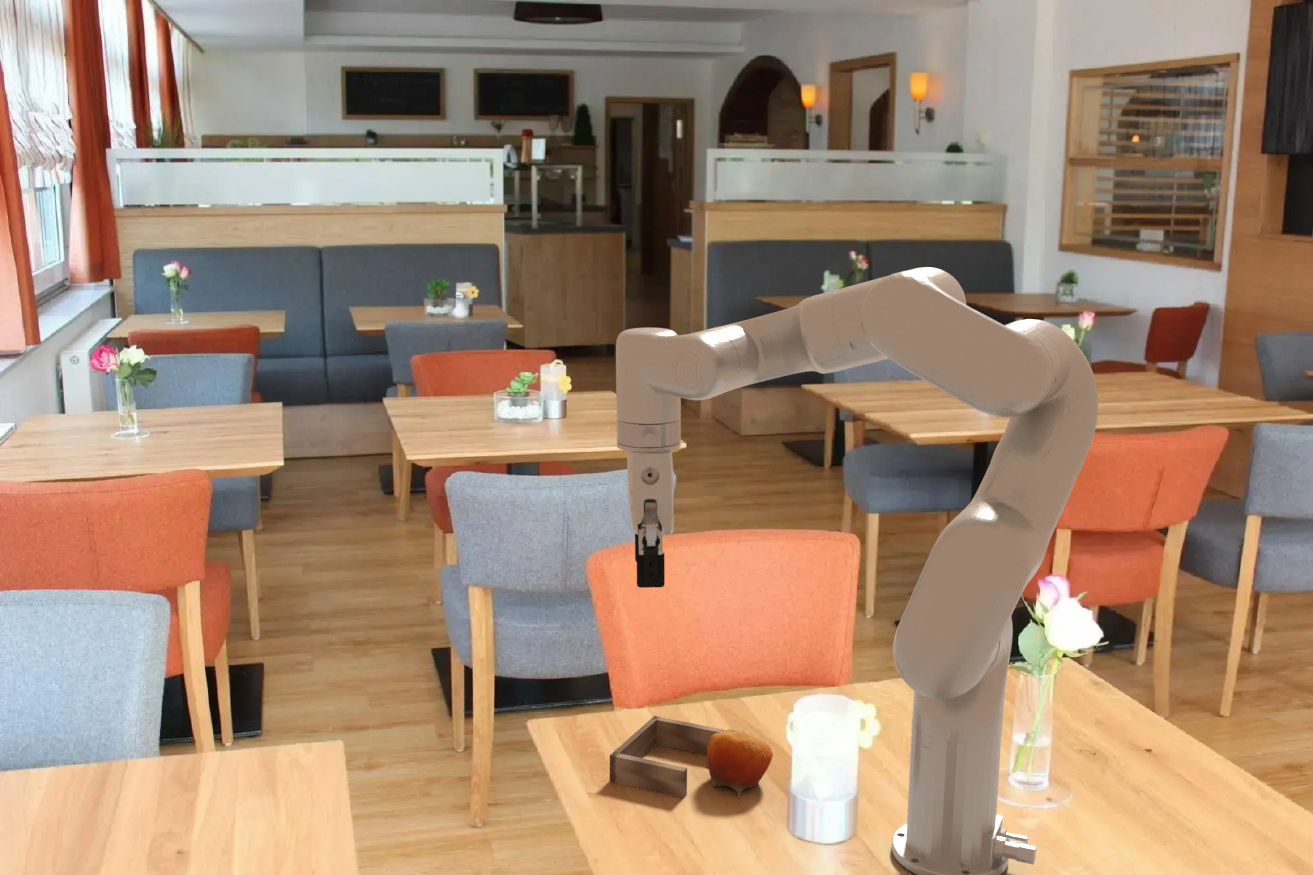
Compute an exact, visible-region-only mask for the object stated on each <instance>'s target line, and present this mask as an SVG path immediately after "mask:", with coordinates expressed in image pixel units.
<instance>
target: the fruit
mask: <svg viewBox="0 0 1313 875" xmlns="http://www.w3.org/2000/svg"><path fill="white" fill-rule="evenodd" d="M772 751H773V750H772V748H771V746H770V745H769V744H768V743H767V742H766V741H764V739H762V738H761V737H759V736H755V735H753V734H749V733H746V732H745V731H740V730H738V729H724V731H723V732H720V733H715V734H713V735H712V736H711V738H710V741H709V743H708V748H707V755H706V759H707V760H706V761H707V769H708V771H709V774H710V775H709V776H710V779H711V782H712V785H713V788H715V787H717V786H718V787H719V786H726V787H730V788H731V789H733V790H734V791H736V792H737V793H738V798H740V799H741V798H742V797H741V796H742V795H741V794H742V791H744V790H747V789H750V788H754V787H755V786H756V785H758V783H759V782H760V781H761V779H762V778H763V777H764V775H765V773H766V772H767V771H768V768H769V766H770V765H771V762H772V759H773V757H774V756H773V755H774V754H773V752H772Z"/></svg>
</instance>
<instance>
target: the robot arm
mask: <svg viewBox="0 0 1313 875" xmlns="http://www.w3.org/2000/svg"><path fill="white" fill-rule="evenodd" d="M885 360H890V361H892V362H893V363H894V364H896V365H898V367H899V366H900V367H901V368H902V369H904V370H906V371H908V372H909V373H911V374H913V375H914V376H916V377H918V378H919V379H921V380H923V381H924V382H927V383H928V384H930V385H932V386H933V387H935V388H937V389H939V390H941V391H942V392H944V393H945V394H947V395H949V396H951V397H953V398H954V399H956V400H958V401H960V402H961V403H963V404H965V405H967V406H969V407H970V408H972V409H974V410H976V411H978V412H981V413H983V414H986V415H988V416H989V415H990V416H993V417H997V418H1009V420H1008V423H1007V424H1006V428H1005V430H1004V432H1003V434H1002V435H1001V437H1000V440H999V441H998V444H997V445H996V447H995V449H994V452H993V454H992V456H991V460H990V463H989V465H988V467H987V469H986V472H985V474H984V476H983V479H982V481H981V482H980V483H979V486H978V489H977V490H976V492H975V494H974V496H973V498H972V499H971V501H970V503H968V504H967V506H965V508H964V509H962V510H961V512H959V513H958V515H956V516H955V517H954V518H953V519H952V520H951V521H950V522H949V523H948V524H947V525H946V526H945V528H943V530H942V531H941V533H940V535H939V536H938V538H937V539H936V541H935V543H934V544H933V546H932V548H931V549H930V550H931V551H930V552H929V555H928V557H927V560H926V561H925V564H924V566H923V569H922V570H921V573H920V575H919V577H918V579H917V583H916V584H915V587H914V589H913V591H912V594H911V596H910V598H909V600H908V603H907V604H906V608H904V609H905V610H904V611H903V614H902V616H901V618H900V621H899V623H898V626H897V627H896V631H895V635H894V639H893V643H892V644H893V645H892V648H893V650H892V651H893V652H892V653H893V659H894V663H895V666H896V669H897V671H898V673H899V676H900V677H901V679H902V680H903V681H904V683H905V684H906V685H907V686H908V687H909V688H910V689H912V690H913V700H912V702H913V703H912V718H911V732H910V734H911V735H910V753H909V754H910V755H909V774H908V777H909V778H908V795H907V818H906V819H907V820H906V823H905V824H903V825H902V826H900V827H899V828H898V829H897V830H896V831H895V832H894V834H893V836H892V839H891V852H892V854H893V856H894V858H895V860H896V861H897V862H898V863H899V864H900V865H901V866H903V867H904V868H905V869H906V870H908V871H909V872H911V873H913V874H915V875H1002V874H1003V873H1004V872H1005V870H1006V869H1007V867H1008V864H1009V860H1014V861H1016V862H1018V863H1024V864H1029V865H1034V864H1035V861H1036V856H1037V846H1034V845H1031V844H1029V835H1025V834H1021V833H1013V832H1007V831H1008V830H1007V829H1006V828H1003V816H1002V815H998V814H997V813H998V812H997V809H998V793H999V778H1000V764H1001V761H1000V760H1001V748H1002V747H1001V746H1002V732H1003V722H1004V711H1005V709H1004V708H1005V707H1004V706H1005V698H1006V697H1005V696H1006V687H1007V680H1008V679H1007V677H1008V671H1009V664H1010V658H1011V652H1012V645H1013V632H1014V630H1013V628H1014V627H1013V620H1012V615H1013V613H1014V610H1015V609H1016V606H1017V605H1018V602H1019V600H1020V598H1021V596H1022V594H1023V593H1024V591H1025V588H1026V587H1027V585H1028V584H1029V583H1030V581H1032V580H1033V578H1034V576H1035V575H1036V573H1037V572H1038V570H1039V569H1040V567H1041V565H1042V563H1043V561H1044V558H1045V556H1046V553H1047V550H1048V547H1049V544H1050V541H1051V538H1052V537H1053V534H1054V532H1055V529H1056V527H1057V525H1058V523H1059V520H1060V518H1061V516H1062V514H1063V512H1064V510H1065V507H1066V506H1067V504H1068V501H1069V500H1070V498H1071V495H1072V494H1071V493H1072V491H1073V489H1074V486H1075V484H1076V482H1077V479H1078V477H1079V475H1080V473H1081V471H1082V468H1083V467H1084V464H1085V462H1086V459H1087V457H1088V453H1089V452H1090V449H1091V447H1092V446H1091V445H1092V443H1093V440H1094V435H1095V432H1096V428H1097V424H1098V417H1099V416H1098V414H1099V395H1098V393H1099V392H1098V387H1097V382H1096V379H1095V375H1094V372H1093V369H1092V366H1091V365H1090V363H1089V360H1088V359H1087V356H1086V355H1085V354H1084V352H1083V351H1082V349H1081V348H1080V347H1079V345H1078V344H1077V342H1075V341H1074V340H1073V339H1072V337H1071V336H1070V335H1069V334H1068V333H1066V331H1064V330H1062V329H1061V328H1060V327H1058V326H1057V325H1055V324H1052V323H1051V322H1048V321H1046V320H1042V319H1032V318H1026V319H1021V320H1016V321H1012V322H1009V323H1007V324H1002V323H1001V322H998V320H995V319H993V318H991V317H990V316H988V315H986V314H984V313H982V312H980V311H978V310H976V309H975V308H972V307H971V306H969V305H967V299H966V296H965V292H964V289H963V287H962V286H961V285H960V283H959V281H958V280H957V279H956V278H955V277H954V276H953V275H952V274H950V273H948V272H947V271H945V270H943V269H940V268H936V267H930V266H929V267H928V266H927V267H926V266H925V267H916V268H915V267H914V268H911V269H908V270H903V271H899V272H895V273H891V274H890V275H887V276H882V277H877V278H876V279H872V280H868V281H865V282H861V283H857V284H854V285H850V286H846V287H842V288H838V289H835V290H831V291H827V292H823V293H820V294H816V295H812V296H809V297H807V298H805V299H802V300H801V301H800V302H799V303H797V304H796V305H794V306H791V307H788V308H785V309H783V310H779V311H776V312H770V313H767V314H763V315H761V316H756V317H753V318H749V319H746V320H741V321H737V322H733V323H728V324H725V325H721V326H716V327H711V328H708V329H704V330H700V331H695V332H692V333H688V334H687V333H686V334H678V333H677V332H675V331H674V330H672V329H669V328H663V327H634V328H628V329H625V330H623V331H621V332H620V333H619V334H618V336H617V338H616V342H615V379H616V380H615V382H616V383H615V390H616V391H615V392H616V393H615V394H616V397H615V398H616V448H618V449H620V450H622V451H626V457H627V459H626V461H627V462H626V463H627V464H626V465H627V467H626V468H627V472H626V473H627V494H628V505H629V513H630V522H631V526H632V527H631V528H632V532H634V559H635V562H636V586H637V587H638V588H640V589H641V588H642V589H643V588H646V589H648V588H664V586H665V584H666V583H665V578H666V576H665V572H666V571H665V566H666V565H665V552H663V550H664V548H663V532H667V533H668V535H672V534H673V532H674V531H675V526H674V525H675V524H674V522H675V519H674V518H675V517H674V462H673V451H674V450H678V449H679V448H681V446H682V444H681V443H682V442H681V439H682V438H681V436H682V435H681V434H682V433H681V432H682V424H681V421H682V420H681V417H682V413H681V410H682V409H681V408H682V402H681V398H682V399H685V400H691V401H703V400H704V401H705V400H708V399H712V398H715V397H717V396H720V395H723V394H725V393H727V392H730V391H733V390H737V389H740V388H743V387H746V386H750V385H753V384H757V383H761V382H762V383H763V382H765V381H769V380H773V379H777V378H782V377H785V376H790V375H794V374H801V373H805V372H817V373H819V374H831V373H836V372H841V371H845V370H849V369H851V368H852V369H853V368H856V367H860V366H864V365H868V364H874V363H878V362H881V361H885Z"/></svg>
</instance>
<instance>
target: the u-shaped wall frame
mask: <svg viewBox="0 0 1313 875" xmlns="http://www.w3.org/2000/svg"><path fill="white" fill-rule="evenodd" d="M723 731H725V729H723V728H717V727H712V726H709V725H708V726H706V725H702V724H698V723H693V722H687V721H683V720H677V719H673V718H672V719H671V718H666V717H661V716H657V715H654V716H652V717H651V718H650V719H649V720H648V721H647V722H645V724H644V725H642V726H641V727H640V728H639V729H637V730H636V731H635V732H634V733H633V734H632V735H631V736H630V737H628V738H627V739H626V740H625V741H624V742H622V744H621V745H619V746H618V747H617V748H616V749H615V750H614V751H613V752H612V753H611V754H610V755H609V782H610V783H615V784H619V785H623V786H627V787H628V786H629V787H633V788H635V789H636V788H637V789H641V790H645V791H646V790H647V791H650V792H655V793H658V794H663V795H669V796H673V797H678V798H681V799H685V797H686V796H687V795H688V767H685V766H679V765H676V764H675V765H674V764H671V763H667V762H661V761H656V760H651V759H647V758H644V757H645V756H646V755H647V754H648V753H649V752H651V751H652V749H654V748H655V747H656V746H662V747H666V748H671V749H676V750H679V751H687V752H691V753H696V754H701V755H703V756H707V748H708V743H709V741H710V738H711V736H712V735H713V734H715V733H720V732H723Z"/></svg>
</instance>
